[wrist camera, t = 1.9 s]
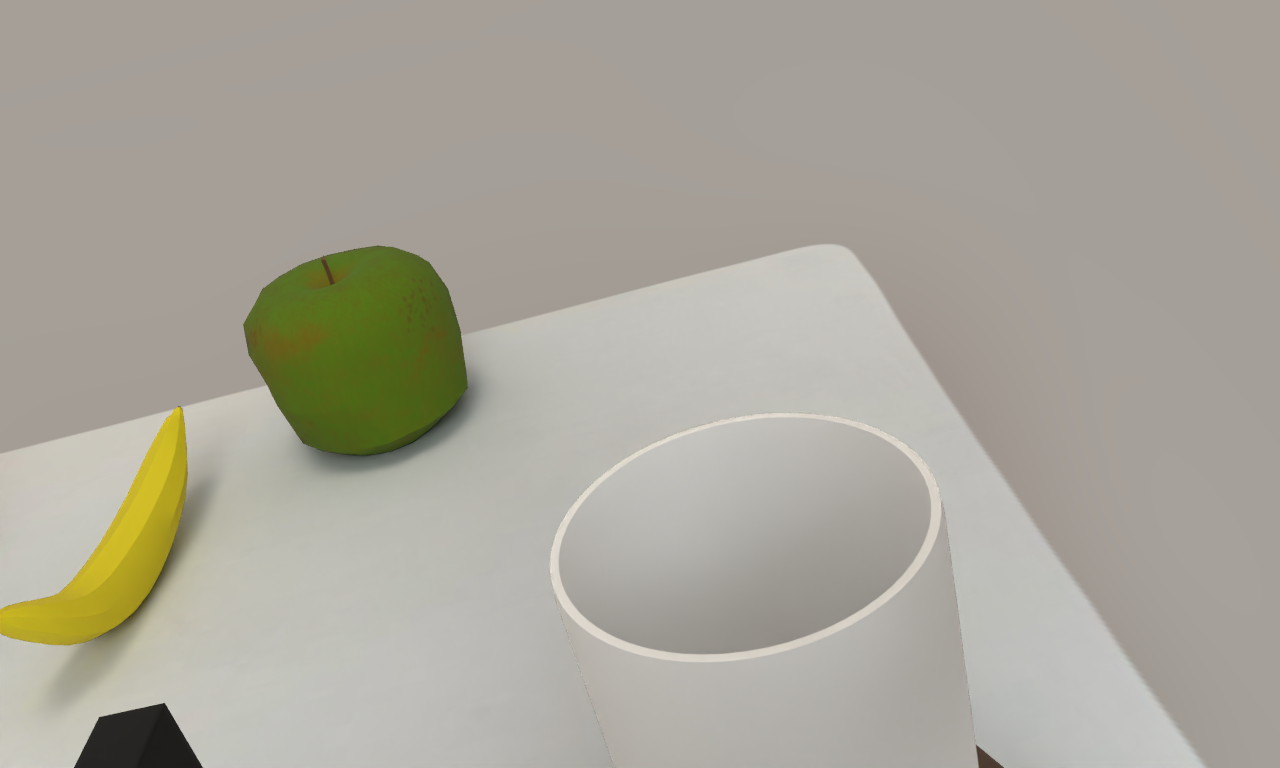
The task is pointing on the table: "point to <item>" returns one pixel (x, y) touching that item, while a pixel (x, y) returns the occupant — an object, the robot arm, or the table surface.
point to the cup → (768, 601)
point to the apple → (359, 349)
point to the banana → (116, 554)
